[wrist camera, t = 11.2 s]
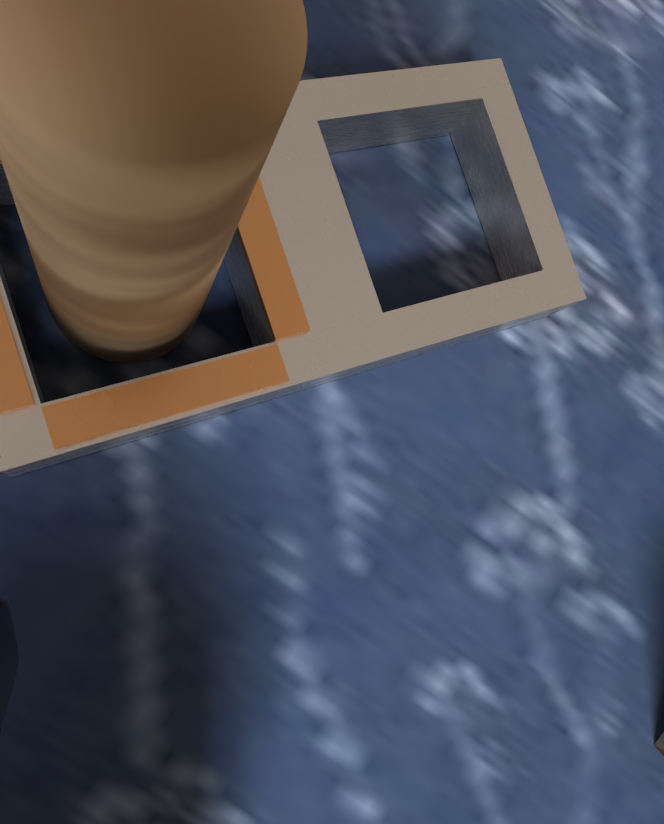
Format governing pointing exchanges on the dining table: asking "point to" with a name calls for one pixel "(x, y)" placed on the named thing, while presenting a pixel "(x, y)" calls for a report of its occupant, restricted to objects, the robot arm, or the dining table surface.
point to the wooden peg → (139, 151)
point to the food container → (660, 744)
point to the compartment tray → (322, 266)
